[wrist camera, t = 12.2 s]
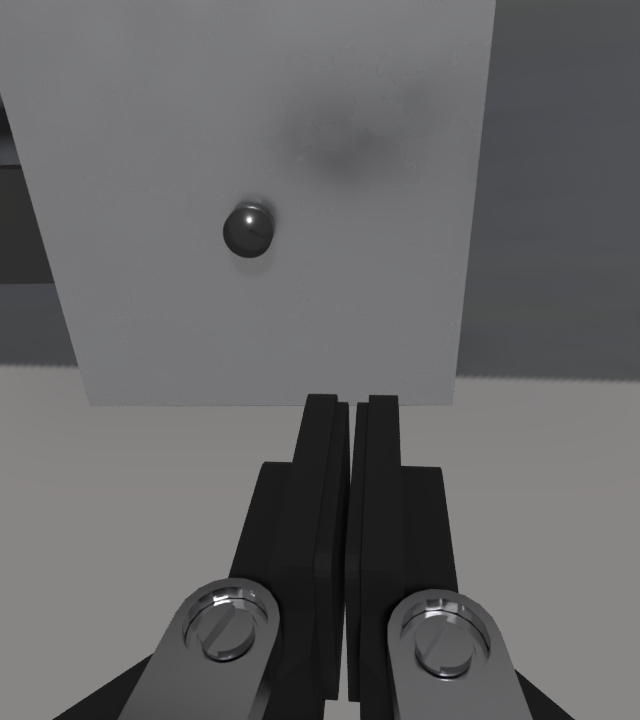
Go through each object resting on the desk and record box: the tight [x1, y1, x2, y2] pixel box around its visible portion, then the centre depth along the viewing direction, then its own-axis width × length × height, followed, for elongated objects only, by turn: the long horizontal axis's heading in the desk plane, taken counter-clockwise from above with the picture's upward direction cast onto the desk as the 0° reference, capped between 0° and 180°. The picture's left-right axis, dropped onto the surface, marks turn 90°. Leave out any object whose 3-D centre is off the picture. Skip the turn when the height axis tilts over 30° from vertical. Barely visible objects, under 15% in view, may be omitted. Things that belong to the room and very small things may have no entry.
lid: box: [0, 0, 496, 406], centre depth 23 cm, size 21×18×2 cm
